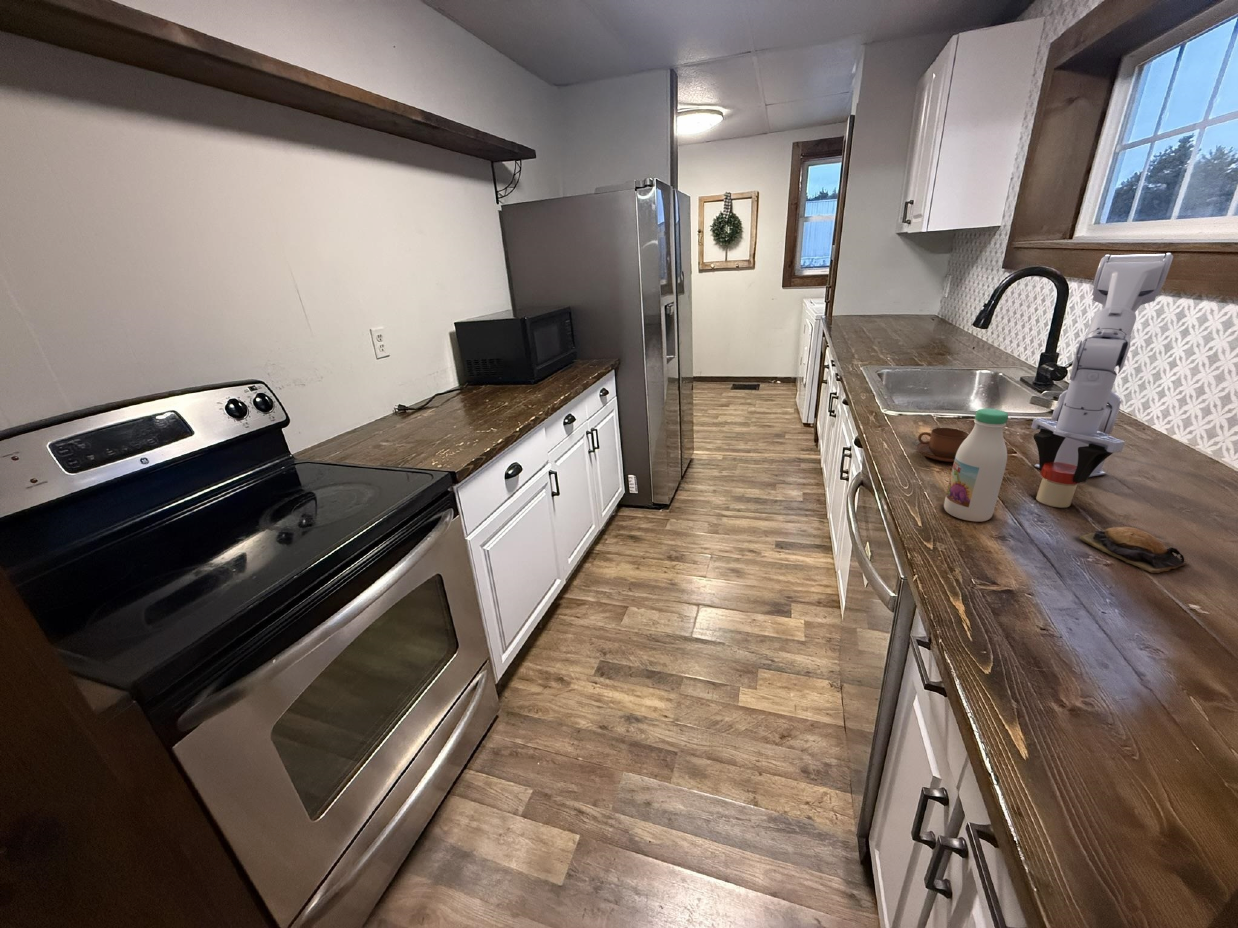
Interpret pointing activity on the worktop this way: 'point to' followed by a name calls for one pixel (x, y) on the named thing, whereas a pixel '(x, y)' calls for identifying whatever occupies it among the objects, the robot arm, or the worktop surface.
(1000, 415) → the milk bottle
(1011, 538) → the worktop surface
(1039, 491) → the honey jar
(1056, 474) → the honey lid
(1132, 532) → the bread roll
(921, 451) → the cup and saucer
